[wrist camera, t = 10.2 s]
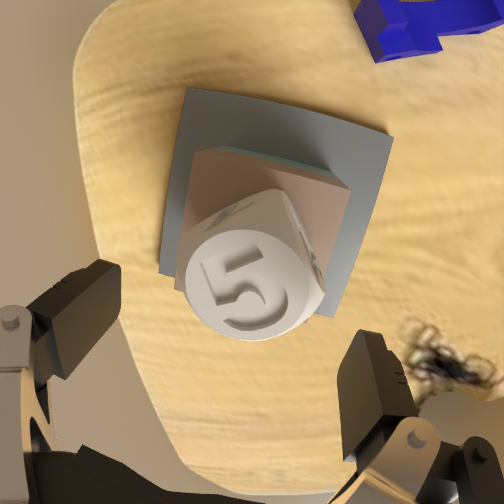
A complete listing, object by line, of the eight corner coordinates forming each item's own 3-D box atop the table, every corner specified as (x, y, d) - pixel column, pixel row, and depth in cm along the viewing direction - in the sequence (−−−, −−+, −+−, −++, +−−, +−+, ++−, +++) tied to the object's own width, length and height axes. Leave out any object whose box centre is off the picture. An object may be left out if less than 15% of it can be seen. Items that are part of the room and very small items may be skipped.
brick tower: (389, 136, 21) (440, 141, 13) (332, 311, 27) (343, 381, 19) (191, 88, 22) (139, 69, 13) (162, 268, 28) (116, 321, 20)
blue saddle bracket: (374, 63, 19) (398, 45, 14) (353, 16, 18) (369, -14, 12) (484, 49, 17) (521, 37, 11) (465, 6, 15) (497, -14, 10)
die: (282, 180, 15) (277, 201, 10) (322, 266, 16) (331, 318, 12) (195, 221, 16) (158, 258, 12) (239, 299, 18) (221, 355, 13)
